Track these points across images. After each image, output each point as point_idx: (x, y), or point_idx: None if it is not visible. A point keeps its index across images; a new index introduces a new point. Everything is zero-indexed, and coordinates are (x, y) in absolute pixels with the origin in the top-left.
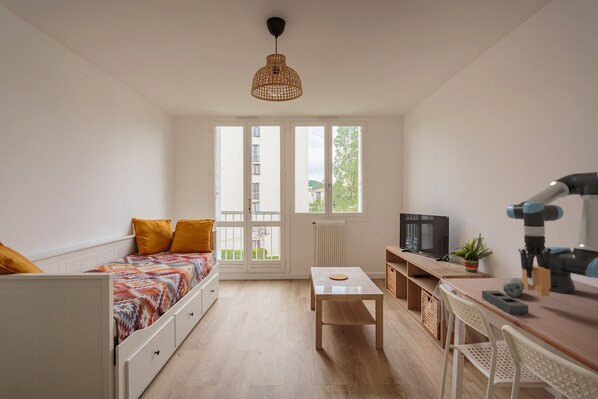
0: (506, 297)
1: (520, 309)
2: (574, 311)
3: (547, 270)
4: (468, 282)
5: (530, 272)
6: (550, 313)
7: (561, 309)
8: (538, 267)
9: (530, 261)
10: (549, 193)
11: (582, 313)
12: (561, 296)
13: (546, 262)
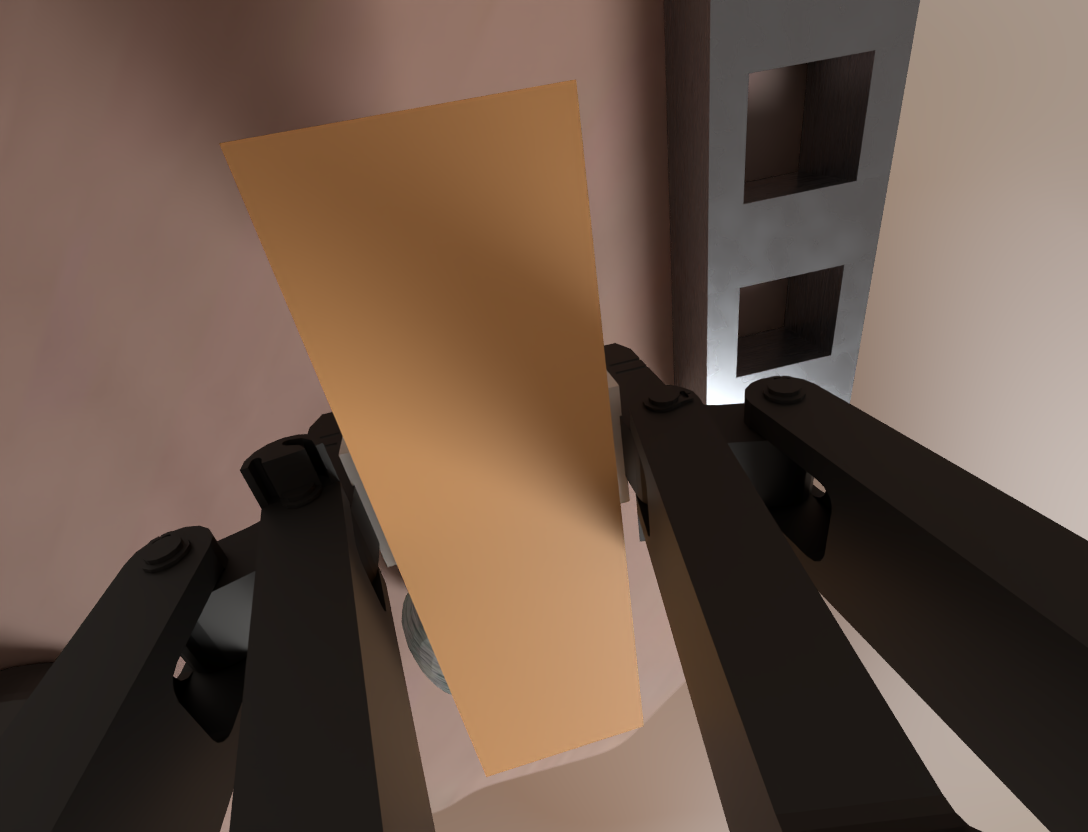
0: (764, 243)
1: None
2: (102, 167)
3: (340, 125)
4: (678, 683)
5: (631, 397)
6: (405, 49)
7: (228, 213)
8: (478, 480)
9: (813, 590)
10: None
11: (24, 107)
12: (99, 582)
13: (121, 738)
